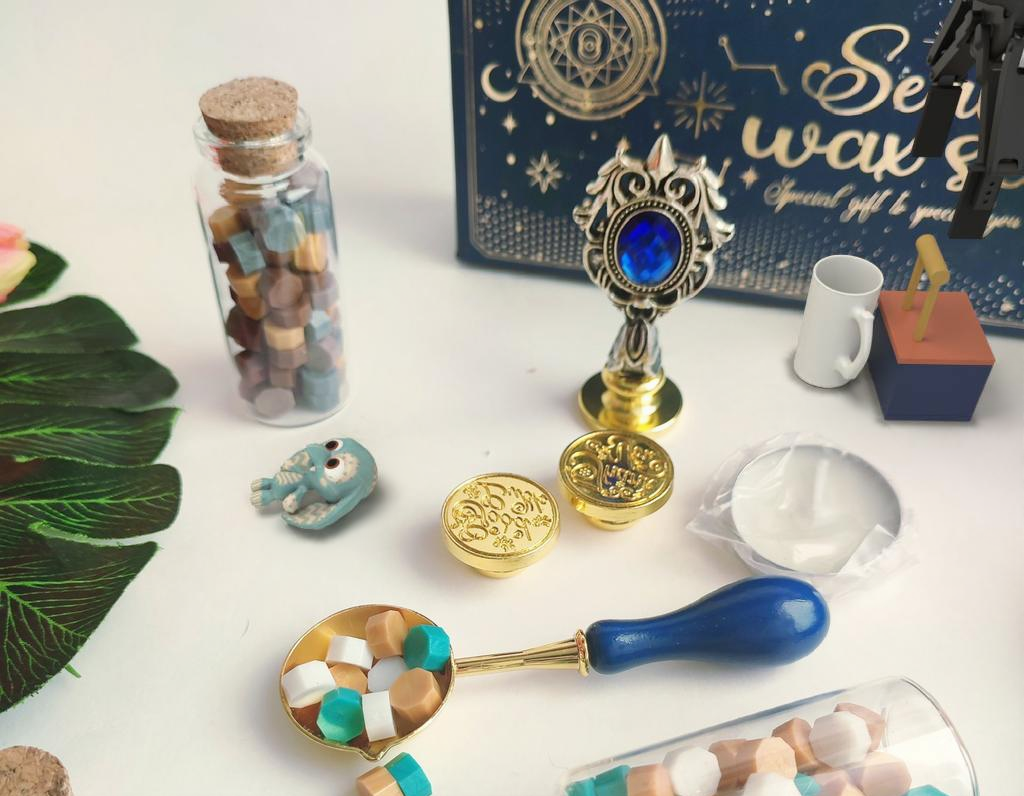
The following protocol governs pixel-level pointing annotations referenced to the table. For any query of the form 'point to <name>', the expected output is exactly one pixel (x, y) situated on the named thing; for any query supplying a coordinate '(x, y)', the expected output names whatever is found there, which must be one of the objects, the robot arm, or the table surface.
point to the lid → (933, 317)
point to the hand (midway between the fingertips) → (944, 194)
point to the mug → (837, 321)
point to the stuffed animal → (320, 482)
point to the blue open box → (922, 384)
